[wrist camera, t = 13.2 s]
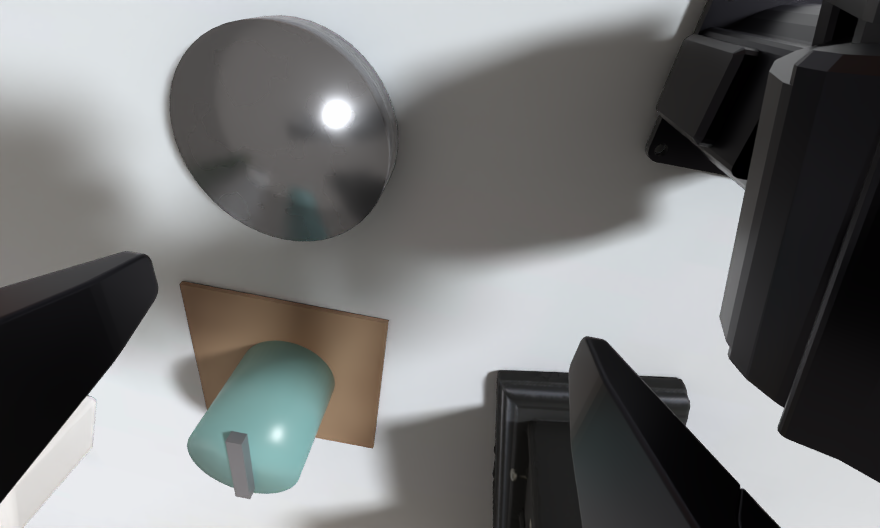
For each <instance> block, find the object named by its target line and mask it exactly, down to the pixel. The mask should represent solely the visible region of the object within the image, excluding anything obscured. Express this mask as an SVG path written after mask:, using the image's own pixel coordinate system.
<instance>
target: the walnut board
mask: <svg viewBox="0 0 880 528" xmlns="http://www.w3.org/2000/svg"><path fill="white" fill-rule="evenodd" d="M180 289H181V293H182V298H183V302H184V307H185V311H186V316H187V320H188V325H189V330H190V334H191V339H192V343H193V348H194V352H195V357H196V361H197V366H198V370H199V375H200V380H201V384H202V389H203V393H204V398H205V402H206V407H207V410H208V409H209V407H210V406H211V404H212V403H213V401H214V400H215V398H216V397H217V395H218V394H219V392H220V391H221V389H222V388H223V386H224V385H225V383H226V382H227V380H228V379H229V377H230V376H231V374H232V373H233V371H234V370H235V368H236V367H237V366H238V364H239V363H240V361H241V360H242V358H243V357H244V355H245V354H246V352H247V351H248V350H249V349H250V348H251V347H252V346H254V345H256V344H258V343H261V342H265V341H285V342H290V343H294V344H297V345H300V346H302V347H305V348H307V349H309V350H310V351H312V352H314V353H315V354H317V355H318V356H319V357H320V358H321V359H322V360H323V361H324V362H325V363H326V364H327V365H328V366H329V368H330V369H331V371H332V373H333V376H334V380H335V387H334V391H333V393H332V396H331V398H330V401H329V403H328V406H327V409H326V411H325V414H324V416H323V419H322V421H321V424H320V426H319V429H318V431H317V434H316V436H315V437H316V438H321V439H326V440H331V441H336V442H342V443H347V444H352V445H357V446H363V447H368V448H373V446H374V440H375V431H376V423H377V414H378V406H379V397H380V389H381V381H382V372H383V364H384V355H385V347H386V338H387V330H388V321H389V320H384V319H379V318H374V317H369V316H363V315H358V314H353V313H347V312H342V311H337V310H332V309H326V308H321V307H316V306H311V305H305V304H300V303H295V302H290V301H284V300H279V299H274V298H269V297H263V296H258V295H253V294H248V293H242V292H237V291H232V290H226V289H221V288H216V287H211V286H205V285H200V284H195V283H190V282H184V281H182V282H181V283H180Z"/></svg>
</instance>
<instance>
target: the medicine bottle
mask: <svg viewBox="0 0 880 528" xmlns="http://www.w3.org/2000/svg"><path fill="white" fill-rule="evenodd" d="M96 404H97V402H96V399H95V398H92V397H90V396H86V398H85V399H84V400H83V401H82V403H81V404H80V405H79V406H78V408H77V409H76V410H75V411H74V413H73V414H72V415H71V416H70V418H69V419H68V420H67V421H66V423H65V424H64V425H63V426H62V428H61V429H60V430H59V431H58V433H57V434H56V435H55V436H54V438H53V439H52V440H51V441H50V442H49V444H48V445H47V446H46V447H45V449H44V450H43V451H42V452H41V454H40V455H39V456H38V457H37V459H36V460H35V461H34V462H33V464H32V465H31V466H30V467H29V469H28V470H27V471H26V472H25V474H24V475H23V476H22V477H21V479H20V480H19V481H18V482H17V484H16V485H15V486H14V487H13V489H12V490H11V491H10V492H9V494H8V495H7V496H6V497H5V499H4V500H3V501H2V502H1V504H0V528H24V526H25V525H26V524H27V523H28V522H29V521H30V519H31V518H32V517H33V516H34V515H35V514H36V513H37V511H38V510H39V509H40V508H41V507H42V506H43V504H44V503H45V502H46V501H47V500H48V499H49V497H50V496H51V495H52V494H53V493H54V492H55V491H56V489H57V488H58V487H59V486H60V485H61V484H62V482H63V481H64V480H65V479H66V478H67V477H68V475H69V474H70V473H71V472H72V471H73V470H74V468H75V467H76V466H77V465H78V464H79V463H80V462H81V460H82V459H83V458H84V457H85V456H86V455H87V453H88V452H89V451H90V450H91V449H92V447H93V439H94V427H95V415H96Z"/></svg>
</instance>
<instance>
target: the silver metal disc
mask: <svg viewBox="0 0 880 528" xmlns="http://www.w3.org/2000/svg"><path fill="white" fill-rule="evenodd" d="M170 116H171V124H172V128H173V132H174V136H175V140H176V143H177V145H178V148H179V151H180V153H181V155H182V157H183V159H184V162H185V164H186V166H187V167H188V169H189V170H190V172H191V174H192V175H193V177H194V178H195V180H196V181H197V182H198V184H199V185H200V186H201V188H202V189H203V190H204V191H205V192H206V193H207V195H208V196H209V197H210V198H211V199H212V200H213V201H214V202H215V203H216V204H217V205H219V206H220V207H221V208H222V209H223V210H224V211H226V212H227V213H228V214H230V215H231V216H232V217H234V218H235V219H237V220H238V221H240V222H242V223H243V224H245V225H247V226H248V227H251V228H253V229H255V230H257V231H259V232H262V233H264V234H267V235H270V236H273V237H277V238H281V239H286V240H293V241H316V240H323V239H327V238H332V237H334V236H337V235H340V234H342V233H344V232H346V231H348V230H350V229H351V228H353V227H354V226H356V225H357V224H358V223H360V222H361V221H362V220H363V219H364V218H365V217H366V216H367V215H368V214H369V213H370V212H371V210H372V209H373V207H374V206H375V204H376V203H377V201H378V199H379V198H380V196H381V194H382V192H383V190H384V188H385V186H386V184H387V182H388V180H389V178H390V176H391V174H392V171H393V168H394V165H395V162H396V156H397V150H398V131H397V122H396V118H395V113H394V109H393V106H392V103H391V100H390V97H389V95H388V93H387V91H386V89H385V87H384V85H383V83H382V81H381V79H380V78H379V76H378V75H377V73H376V71H375V70H374V68H373V67H372V66H371V65H370V63H369V62H368V61H367V60H366V59H365V57H364V56H363V55H362V54H361V53H360V52H359V51H358V50H357V49H356V48H355V47H354V46H353V45H351V44H350V43H349V42H347V41H346V40H345V39H343V38H342V37H341V36H340V35H338V34H336V33H335V32H333V31H331V30H329V29H328V28H326V27H324V26H321V25H319V24H317V23H314V22H312V21H309V20H305V19H301V18H297V17H291V16H282V15H276V16H263V17H256V18H250V19H243V20H238V21H233V22H228V23H225V24H223V25H220V26H218V27H215V28H213V29H211V30H210V31H208V32H206V33H205V34H203V35H202V36H200V37H199V38H198V39H197V40H196V41H195V42H194V43H193V44H192V45H191V46H190V47H189V48H188V50H187V51H186V52H185V54H184V55H183V56H182V58H181V60H180V62H179V64H178V66H177V68H176V71H175V74H174V78H173V81H172V86H171V93H170Z"/></svg>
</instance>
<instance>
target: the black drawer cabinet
mask: <svg viewBox="0 0 880 528" xmlns="http://www.w3.org/2000/svg"><path fill="white" fill-rule="evenodd" d="M640 378H641V379H642V380H643V381H644V382H645V383H646V384H647V385H648V386H649V387H650V389H651V390H652V391H653V392H654V393H655V394H656V395H657V396H658V397H659V398H660V399H661V400H662V401H663V402H664V404H665V405H666V406H667V407H668V408H669V409H670V410H671V411H672V412H673V413H674V414H675V415H676V416H677V417H678V419H679V420H680V421H681V422H682V423H683V424H684V425H685V426H686V422H687V419H688V414H689V409H690V401H689V399H688V396H687V390H686V387H685V385H684V383H683V381H682V380H681V379H677V378H656V377H640ZM495 437H496V441H495V447H494V452H495V462H494V470H493V478H494V481H493V528H583V527H582V520H581V513H580V506H579V499H578V492H577V485H576V478H575V472H574V465H573V458H572V450H571V437H570V404H569V374H568V373H545V372H526V371H499V372H498V379H497V410H496V436H495Z"/></svg>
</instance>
